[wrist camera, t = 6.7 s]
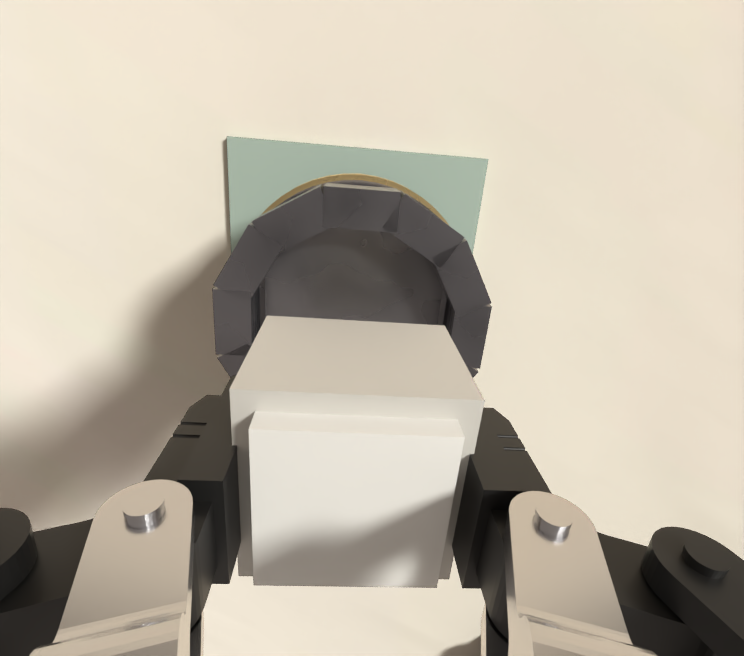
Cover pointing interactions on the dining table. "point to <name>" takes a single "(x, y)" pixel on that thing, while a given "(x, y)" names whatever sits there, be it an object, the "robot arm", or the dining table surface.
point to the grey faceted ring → (350, 266)
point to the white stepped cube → (351, 452)
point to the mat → (311, 161)
